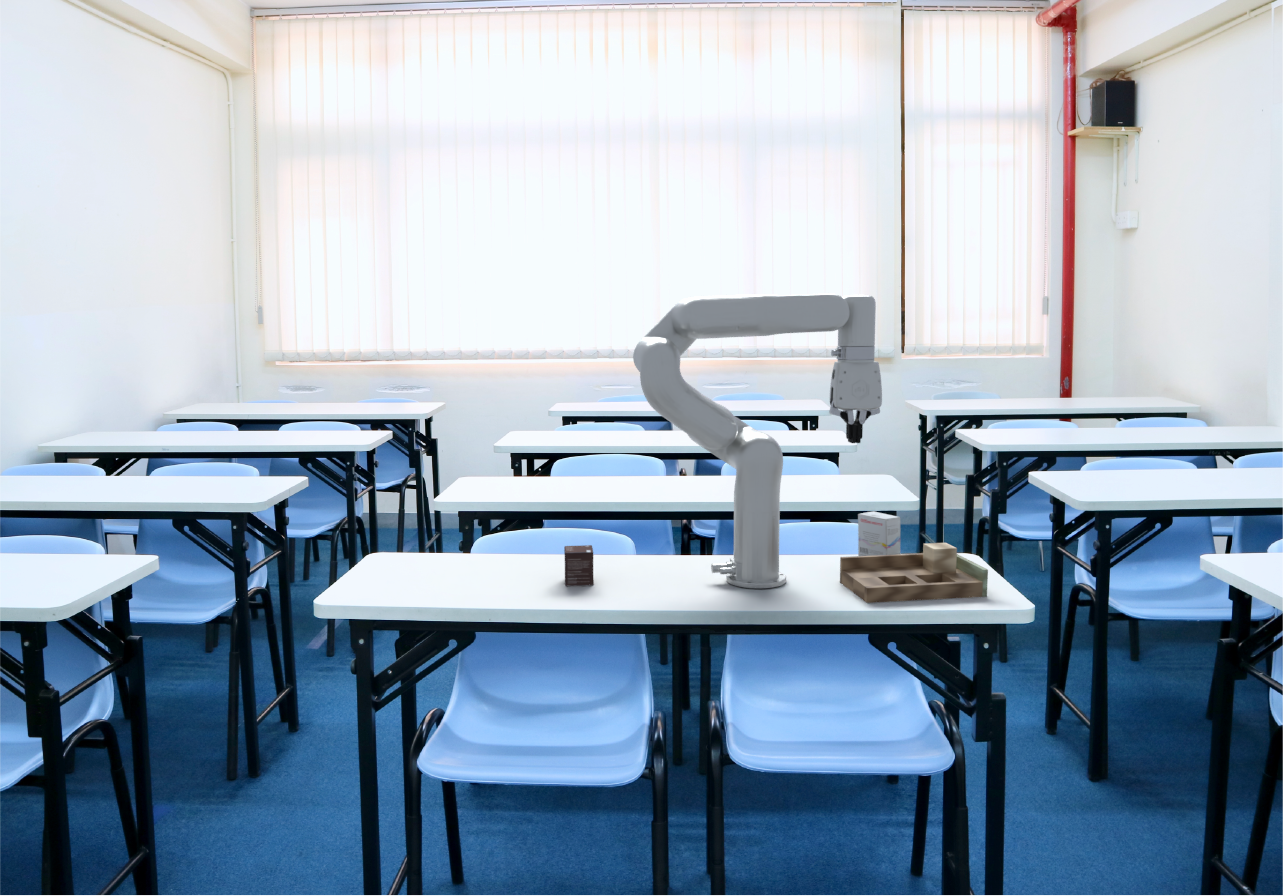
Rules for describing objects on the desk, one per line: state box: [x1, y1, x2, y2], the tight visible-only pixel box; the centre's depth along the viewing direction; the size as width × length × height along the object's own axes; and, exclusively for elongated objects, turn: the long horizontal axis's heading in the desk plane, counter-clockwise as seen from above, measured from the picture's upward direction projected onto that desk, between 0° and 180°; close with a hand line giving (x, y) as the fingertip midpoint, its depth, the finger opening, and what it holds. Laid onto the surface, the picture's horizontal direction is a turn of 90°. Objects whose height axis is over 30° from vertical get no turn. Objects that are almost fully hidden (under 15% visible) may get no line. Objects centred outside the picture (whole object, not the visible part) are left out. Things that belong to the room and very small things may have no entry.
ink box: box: [857, 511, 901, 556], centre depth 215 cm, size 9×5×12 cm, turn 34°
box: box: [563, 544, 595, 587], centre depth 205 cm, size 6×6×7 cm
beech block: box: [922, 542, 958, 573], centre depth 202 cm, size 5×5×5 cm
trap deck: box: [839, 552, 989, 604], centre depth 198 cm, size 25×15×6 cm, turn 98°
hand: (854, 442), depth 204 cm, fingers closed
